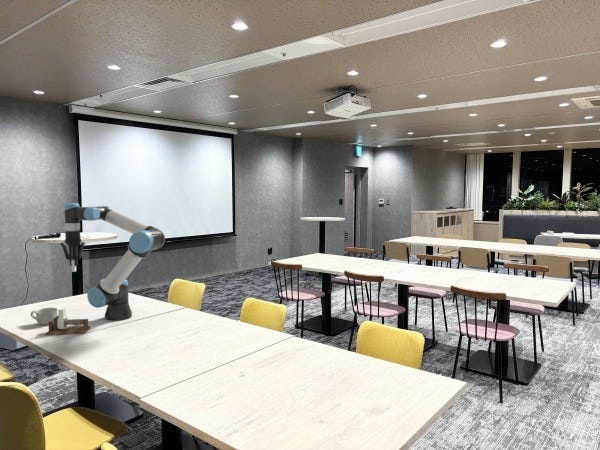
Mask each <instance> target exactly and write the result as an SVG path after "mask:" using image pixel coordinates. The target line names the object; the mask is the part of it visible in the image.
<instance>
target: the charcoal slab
mask: <svg viewBox="0 0 600 450" xmlns="http://www.w3.org/2000/svg"><path fill="white" fill-rule="evenodd" d="M58 318H59V316H57V317H55V318H54V330H58V327H57V320H58Z"/></svg>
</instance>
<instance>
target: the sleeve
mask: <svg viewBox="0 0 600 450" xmlns="http://www.w3.org/2000/svg"><path fill="white" fill-rule="evenodd" d="M57 313H58V316H59V318H58V320H57V327H58V329H64V328H66V327H67V326H68V325H64V320H68V315H67V307H60V308H58V310H57Z"/></svg>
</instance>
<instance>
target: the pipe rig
mask: <svg viewBox="0 0 600 450" xmlns="http://www.w3.org/2000/svg"><path fill="white" fill-rule="evenodd" d="M64 325H67V327H66V328H64V329H58V330H54V320H50V321H49V322H48V325H47V326H48V331H46V332H45V333H44V335H45V336H62V335H63V336H64V335H84V334H85V333H87V332H88V331H89V330H90V329H91V328H92V325H89V318H78V319H77V318H76V319H75V318H74V319H73V318H72V319H68V320H64ZM73 325H74V326H73ZM75 325H76V326H75Z"/></svg>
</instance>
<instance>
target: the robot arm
mask: <svg viewBox="0 0 600 450" xmlns="http://www.w3.org/2000/svg"><path fill="white" fill-rule="evenodd" d="M63 212H64V230H65V232H64V234H65V235H64V236H65V238H64V241H63V242H60V245H61V247H62V250H63V254H64V257H65V259H66V260H69V266H70V267H71V272H72V273H73V272H74V273H76V272H77V266H79V264H78V263H79V261H78V260H80V259H82V256H83V252H84V247H85V245H86V242H85V241H83V240H82V238H81V231H80V230H81V221H89V222H91V221H98V220H99V221H100V220H101V221H103V222H106V223H109V224H111V225H113V226H115V227H117V228H119V229H122V230H123V231H126V232H128V233H130V234H131V235H130V237H129V240H128V242H129V243H128V245H127V248H128V250H127V251H126V252H125V253H124V254H123V256H121V259H120V260H119V261H118V263H117V264H116V265H115V266H114V267H113V269H112V270H111V271H110V273H109V274H108V275H107V276H106V277H105V278H102V279H101V280H99V282H98V283H97V284H96V285H95V286H93V287H91V288H89V290H88V292H87V295H86V297H87V300H88V303H89V304H90V306H92V307H93V308H98V309H100V308H103V307H106V306H107V307H106V309H105V312H104V320H106V321H111V322H112V321H115V322H116V321H124V320H128V319H130V318H132V317H133V312H132V309H131V306H130V304H129V281H128V280H127V278H128V277H129V275H130V274H131V273H132V272H133V270H134V269H135V268H136V267H137V265H138V264H139V263H140V261H141V260H142V259H147V258H148V257H149V255H150V253H151V252H152V251H155V250H158V249H160V248H162V247H163V246H164V244H165V242H166V237H165V234H164V232H163V231H162V230H160V229H159V228H156V227H154V226H152V225H145V224H144V223H141V222H139V221H136V220H134V219H132V218H130V217H128V216H125V215H123V214H121V213H119V212H117V211H115V210H114V209H113V208H112V207H110V206H107V205H102V206H80V204H79V203H75V202H74V203H72V202H71V203H65V204H64V211H63ZM79 245H80V246H79ZM67 246H68V248H67ZM78 248H79V249H78Z"/></svg>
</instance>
